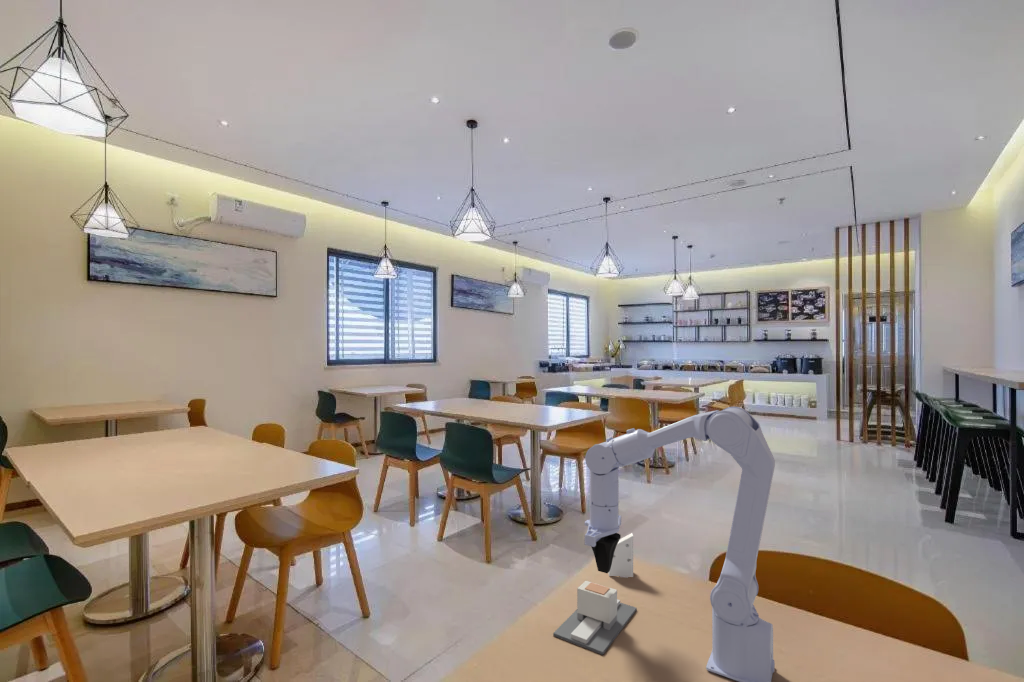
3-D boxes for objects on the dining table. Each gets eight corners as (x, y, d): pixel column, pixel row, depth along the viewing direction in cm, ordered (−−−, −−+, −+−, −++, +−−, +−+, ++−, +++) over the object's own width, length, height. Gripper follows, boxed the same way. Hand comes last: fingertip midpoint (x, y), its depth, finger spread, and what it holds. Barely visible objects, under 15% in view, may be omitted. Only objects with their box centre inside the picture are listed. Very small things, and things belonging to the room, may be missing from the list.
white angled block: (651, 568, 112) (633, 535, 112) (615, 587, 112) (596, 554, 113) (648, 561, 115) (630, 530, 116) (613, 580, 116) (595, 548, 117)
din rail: (636, 610, 98) (636, 603, 98) (602, 655, 83) (602, 647, 83) (592, 596, 103) (592, 590, 103) (553, 635, 88) (553, 628, 88)
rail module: (617, 620, 93) (617, 588, 93) (609, 630, 89) (609, 597, 90) (585, 609, 96) (585, 579, 97) (577, 618, 93) (577, 587, 93)
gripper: (599, 491, 103) (599, 553, 102) (570, 508, 90) (569, 579, 90) (630, 496, 99) (630, 561, 98) (604, 515, 87) (604, 589, 86)
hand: (603, 570), depth 94 cm, fingers closed
